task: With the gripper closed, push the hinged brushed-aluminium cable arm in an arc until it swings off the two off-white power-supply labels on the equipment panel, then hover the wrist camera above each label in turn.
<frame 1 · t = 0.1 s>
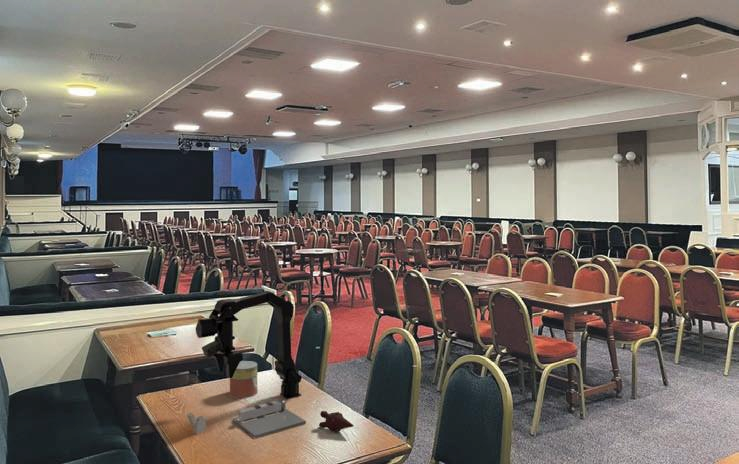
hand: (225, 374, 210), 14 cm above the table, fingers open, 9 cm apart
icecream: (336, 431, 194), on the table
equipment panel: (268, 422, 201), on the table
canned food: (243, 393, 231), on the table
cable arm: (262, 409, 205), point 3 cm above the table, hinge at 0.0°
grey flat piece: (196, 433, 192), on the table
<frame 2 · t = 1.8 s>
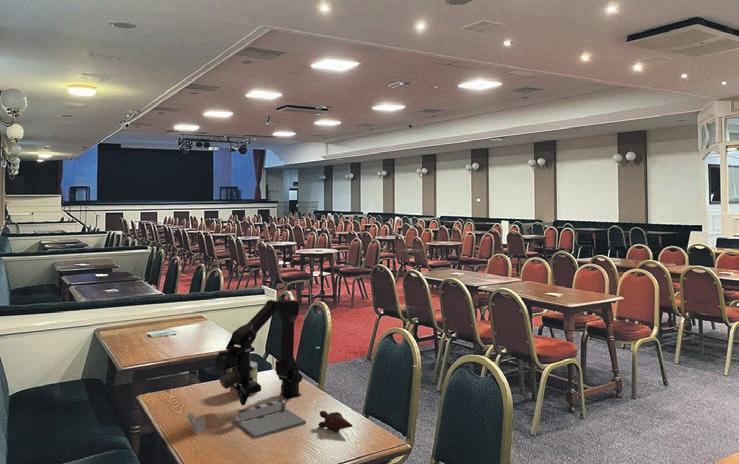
hand: (242, 405, 209), 3 cm above the table, fingers closed
nothing on the table moved.
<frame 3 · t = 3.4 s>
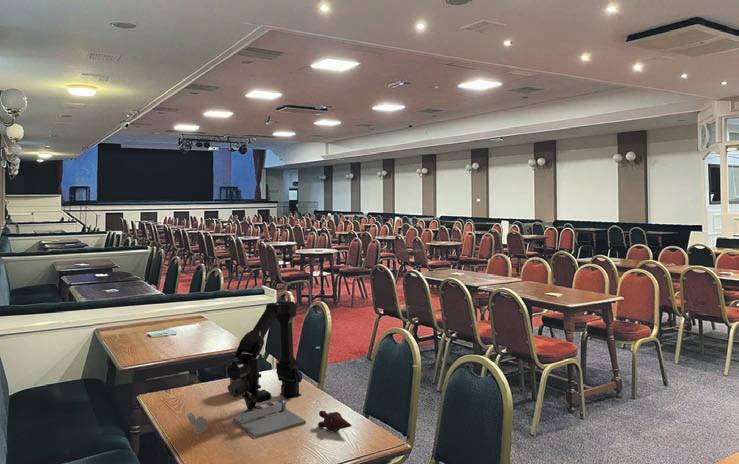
hand: (250, 413, 204), 2 cm above the table, fingers closed
cable arm: (263, 409, 205), point 3 cm above the table, hinge at 4.5°, touching gripper
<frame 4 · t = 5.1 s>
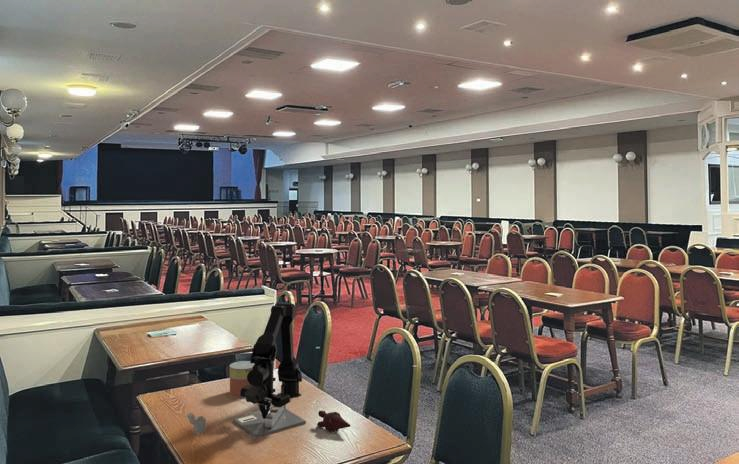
hand: (264, 418, 199), 2 cm above the table, fingers closed
cable arm: (275, 412, 202), point 3 cm above the table, hinge at 45.4°, touching gripper
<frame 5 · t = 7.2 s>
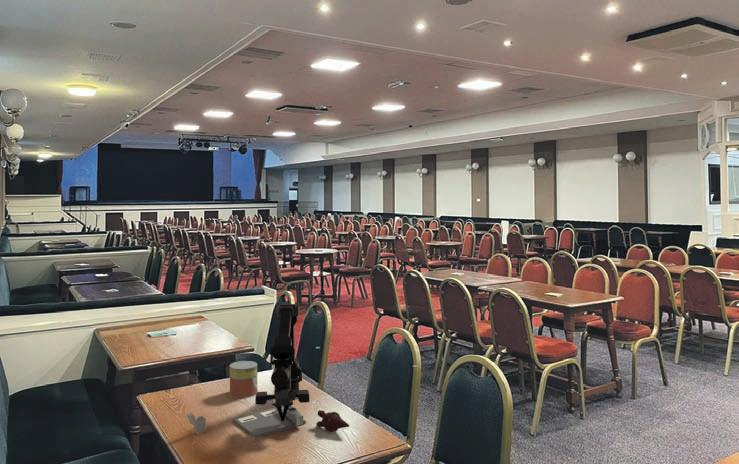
hand: (282, 420, 197), 2 cm above the table, fingers closed
cable arm: (289, 411, 203), point 3 cm above the table, hinge at 82.7°
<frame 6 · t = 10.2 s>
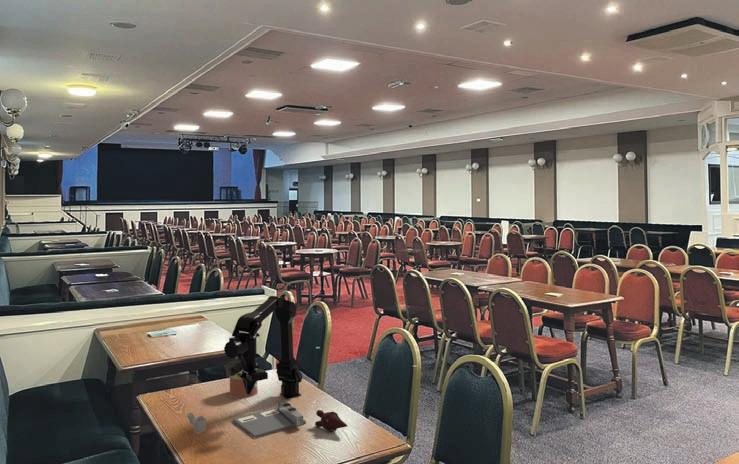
hand: (248, 393, 201), 10 cm above the table, fingers closed
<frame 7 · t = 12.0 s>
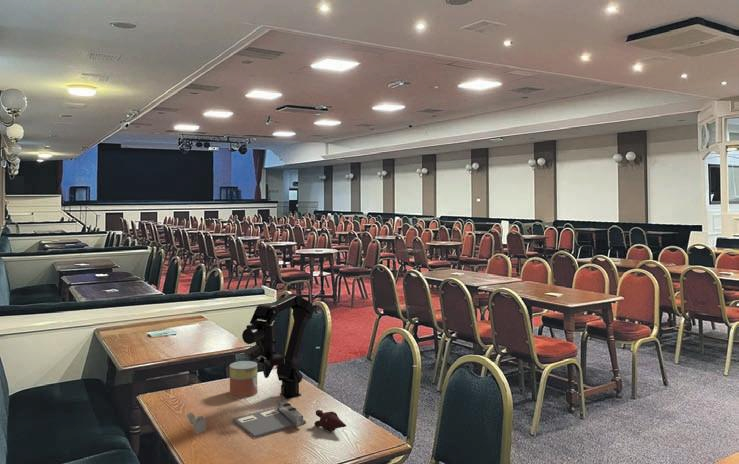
hand: (266, 377, 214), 12 cm above the table, fingers closed
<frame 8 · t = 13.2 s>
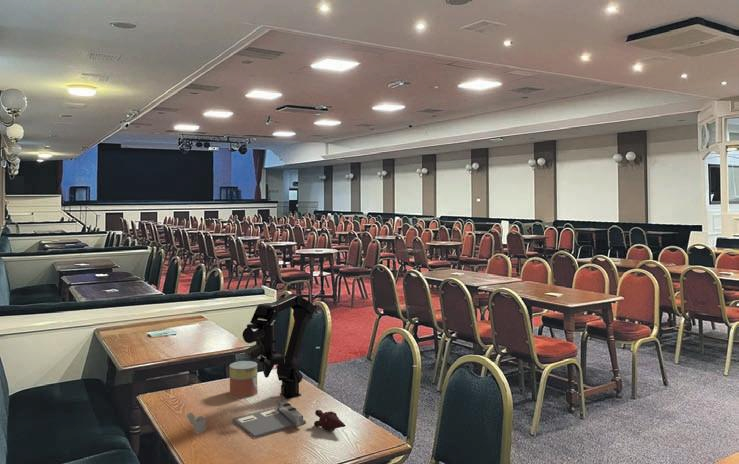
hand: (266, 377, 214), 12 cm above the table, fingers closed
at the end: cable arm at +83° (first picture: +0°) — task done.
